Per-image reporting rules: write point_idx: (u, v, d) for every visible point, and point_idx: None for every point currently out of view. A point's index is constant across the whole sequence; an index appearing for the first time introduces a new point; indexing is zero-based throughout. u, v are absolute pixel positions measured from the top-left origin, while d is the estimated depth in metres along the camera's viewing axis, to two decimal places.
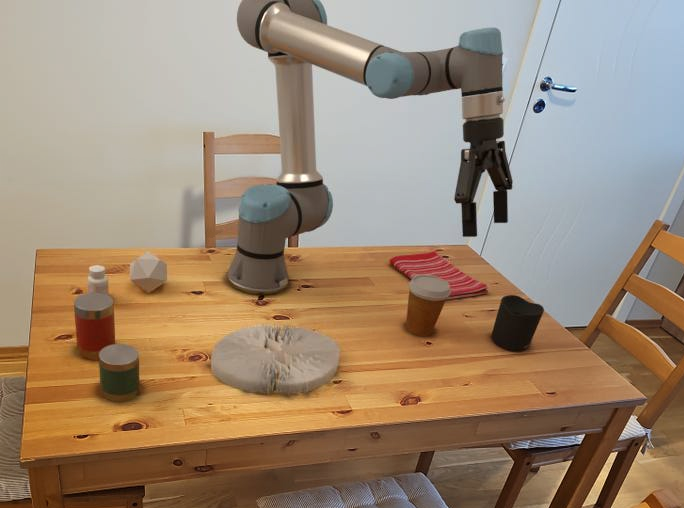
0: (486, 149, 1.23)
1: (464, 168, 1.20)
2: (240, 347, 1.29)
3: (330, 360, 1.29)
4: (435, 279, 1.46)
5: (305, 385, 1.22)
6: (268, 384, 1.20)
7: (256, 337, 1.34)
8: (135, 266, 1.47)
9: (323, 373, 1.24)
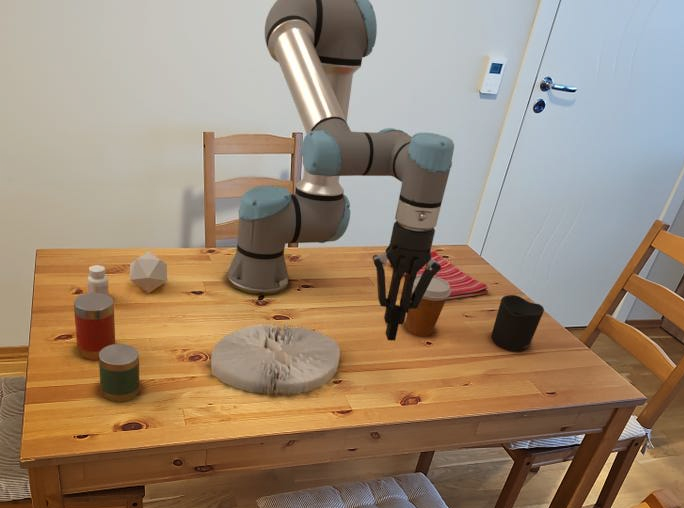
0: (403, 255, 1.17)
1: (377, 275, 1.21)
2: (240, 347, 1.29)
3: (330, 360, 1.29)
4: (435, 279, 1.46)
5: (305, 385, 1.22)
6: (268, 384, 1.20)
7: (256, 337, 1.34)
8: (135, 266, 1.47)
9: (323, 373, 1.24)
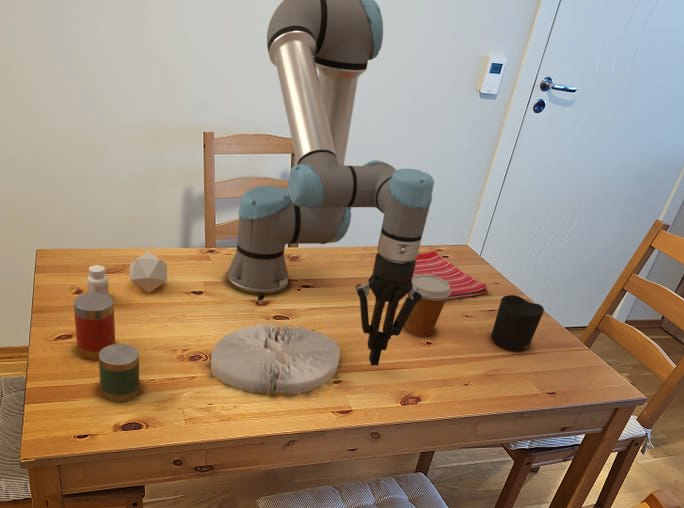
0: (385, 285, 1.21)
1: (360, 303, 1.24)
2: (240, 347, 1.29)
3: (330, 360, 1.29)
4: (435, 279, 1.46)
5: (305, 385, 1.22)
6: (268, 384, 1.20)
7: (256, 337, 1.34)
8: (135, 266, 1.47)
9: (323, 373, 1.24)
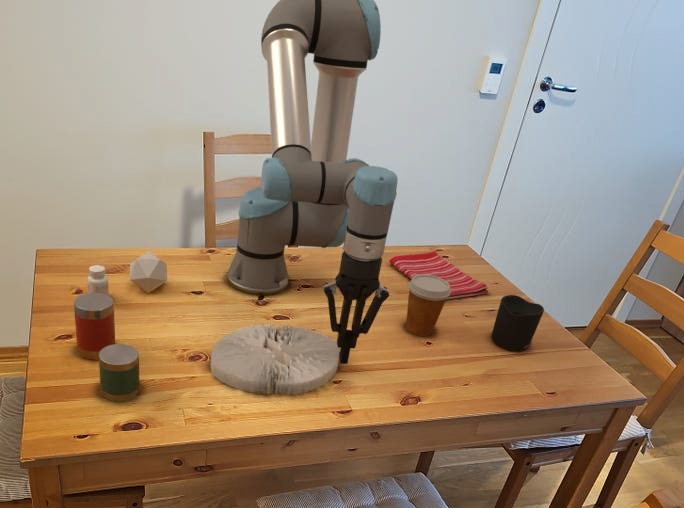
0: (352, 283, 1.20)
1: None
2: (240, 347, 1.29)
3: (330, 360, 1.29)
4: (435, 279, 1.46)
5: (305, 385, 1.22)
6: (268, 384, 1.20)
7: (256, 337, 1.34)
8: (135, 266, 1.47)
9: (323, 373, 1.24)
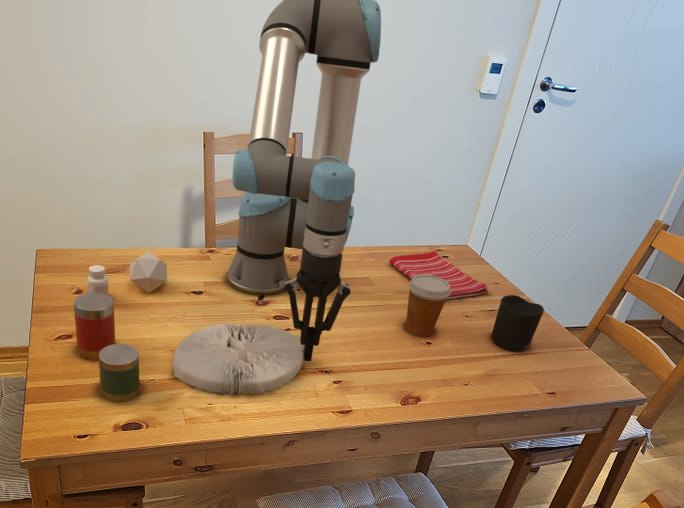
0: (313, 280, 1.19)
1: None
2: (202, 347, 1.28)
3: (294, 357, 1.28)
4: (435, 279, 1.46)
5: (269, 383, 1.21)
6: (231, 383, 1.19)
7: (219, 336, 1.33)
8: (135, 266, 1.47)
9: (287, 371, 1.23)
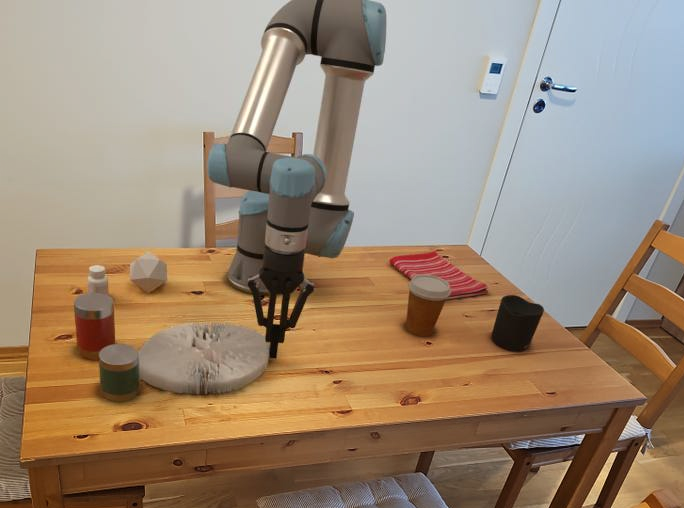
0: (275, 276, 1.19)
1: None
2: (167, 347, 1.26)
3: (260, 355, 1.27)
4: (435, 279, 1.46)
5: (235, 382, 1.20)
6: (197, 384, 1.17)
7: (183, 336, 1.31)
8: (135, 266, 1.47)
9: (253, 369, 1.23)
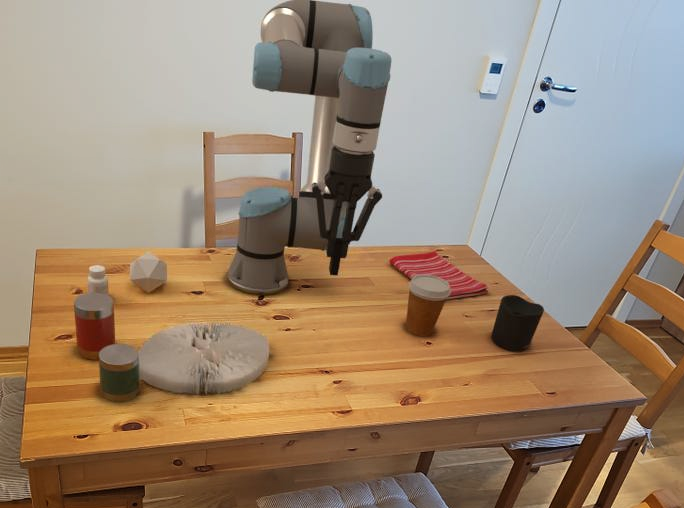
0: (342, 182, 1.12)
1: None
2: (167, 347, 1.26)
3: (260, 355, 1.27)
4: (435, 279, 1.46)
5: (235, 382, 1.20)
6: (197, 384, 1.17)
7: (183, 336, 1.31)
8: (135, 266, 1.47)
9: (253, 369, 1.23)
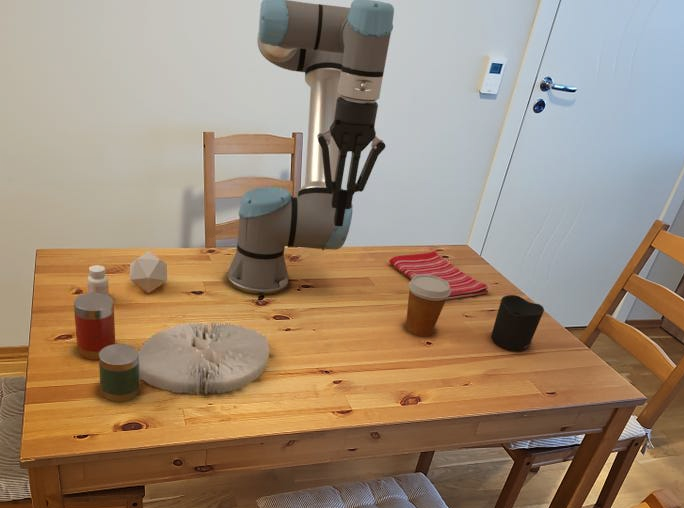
0: (347, 131, 1.17)
1: (322, 155, 1.20)
2: (167, 347, 1.26)
3: (260, 355, 1.27)
4: (435, 279, 1.46)
5: (235, 382, 1.20)
6: (197, 384, 1.17)
7: (183, 336, 1.31)
8: (135, 266, 1.47)
9: (253, 369, 1.23)
